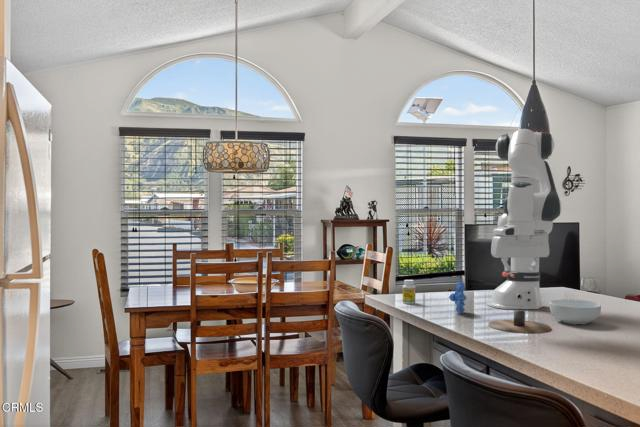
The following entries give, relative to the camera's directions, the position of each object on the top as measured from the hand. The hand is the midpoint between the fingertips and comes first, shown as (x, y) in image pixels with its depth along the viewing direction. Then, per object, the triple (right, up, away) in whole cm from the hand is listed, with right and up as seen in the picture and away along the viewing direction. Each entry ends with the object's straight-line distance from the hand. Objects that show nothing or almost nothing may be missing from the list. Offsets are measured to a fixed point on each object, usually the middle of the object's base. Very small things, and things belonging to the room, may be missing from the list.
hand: (520, 270), depth 203 cm
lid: (0, -20, 0) cm, 20 cm away
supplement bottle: (-30, -19, +50) cm, 61 cm away
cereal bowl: (+22, -20, +9) cm, 31 cm away
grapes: (-15, -19, +27) cm, 36 cm away
